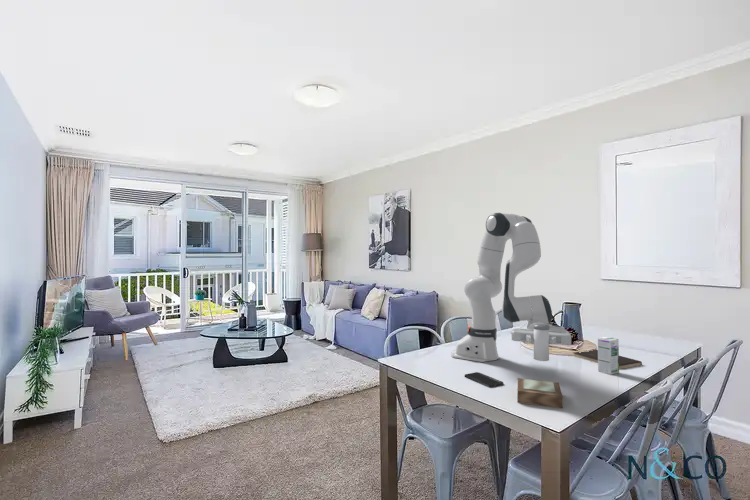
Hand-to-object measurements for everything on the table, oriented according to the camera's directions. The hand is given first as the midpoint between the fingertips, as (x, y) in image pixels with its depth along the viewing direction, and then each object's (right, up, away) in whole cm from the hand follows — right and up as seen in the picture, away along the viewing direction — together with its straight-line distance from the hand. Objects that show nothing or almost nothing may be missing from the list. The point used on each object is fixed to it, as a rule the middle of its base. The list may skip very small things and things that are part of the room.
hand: (541, 341), depth 138 cm
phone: (-15, -20, +19) cm, 32 cm away
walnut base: (-1, -20, 0) cm, 20 cm away
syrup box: (+41, -20, +30) cm, 54 cm away
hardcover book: (+51, -21, +47) cm, 72 cm away
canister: (0, -6, +1) cm, 7 cm away
